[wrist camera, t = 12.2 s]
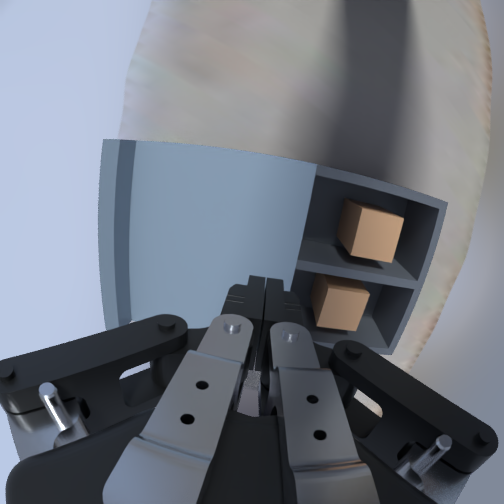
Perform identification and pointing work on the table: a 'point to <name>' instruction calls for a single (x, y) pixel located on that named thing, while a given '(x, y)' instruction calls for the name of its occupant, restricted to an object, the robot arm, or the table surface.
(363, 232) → the light orange block
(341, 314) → the tan block in compartment
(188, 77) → the table surface
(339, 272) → the housing
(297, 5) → the table surface
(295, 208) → the lid
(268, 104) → the table surface
